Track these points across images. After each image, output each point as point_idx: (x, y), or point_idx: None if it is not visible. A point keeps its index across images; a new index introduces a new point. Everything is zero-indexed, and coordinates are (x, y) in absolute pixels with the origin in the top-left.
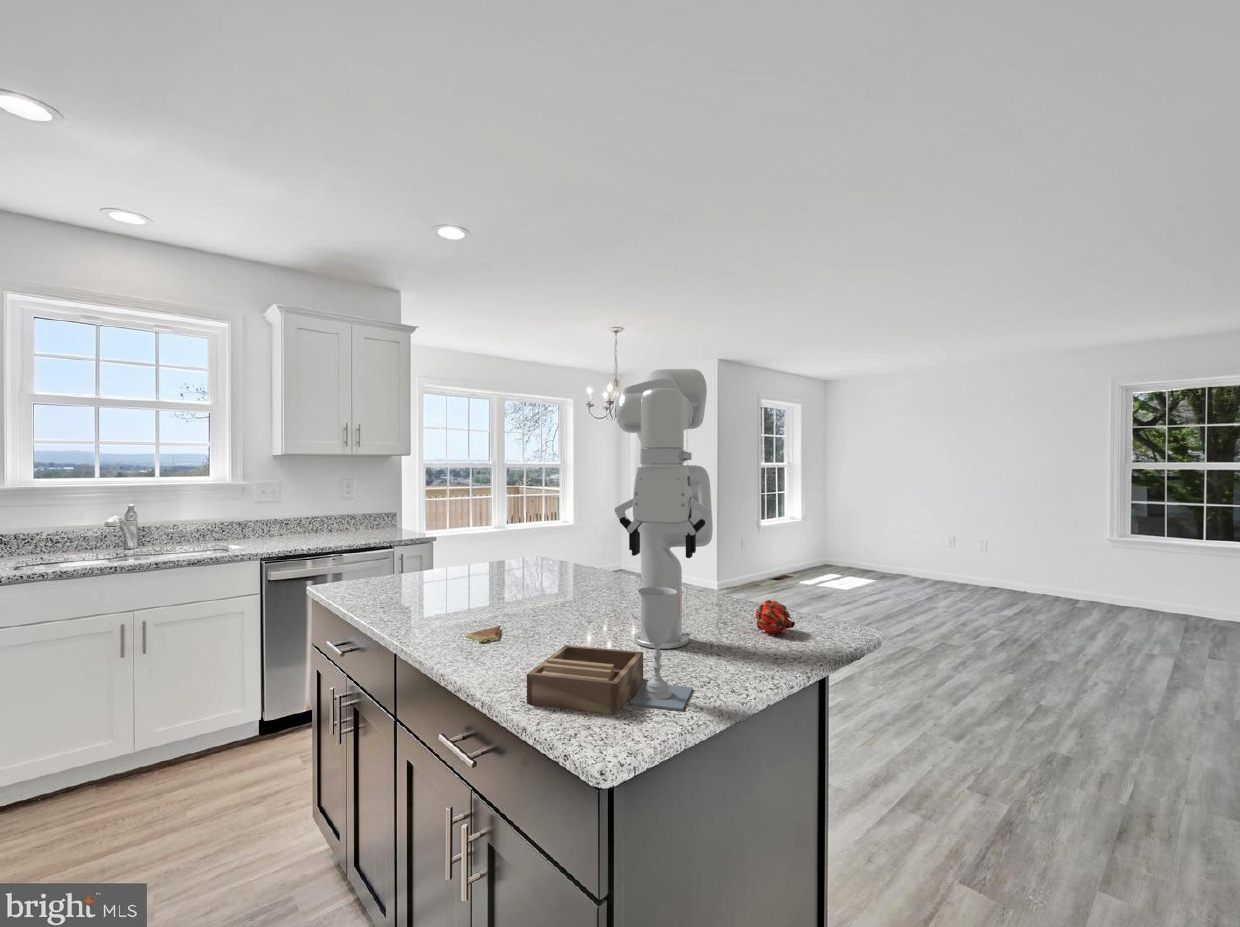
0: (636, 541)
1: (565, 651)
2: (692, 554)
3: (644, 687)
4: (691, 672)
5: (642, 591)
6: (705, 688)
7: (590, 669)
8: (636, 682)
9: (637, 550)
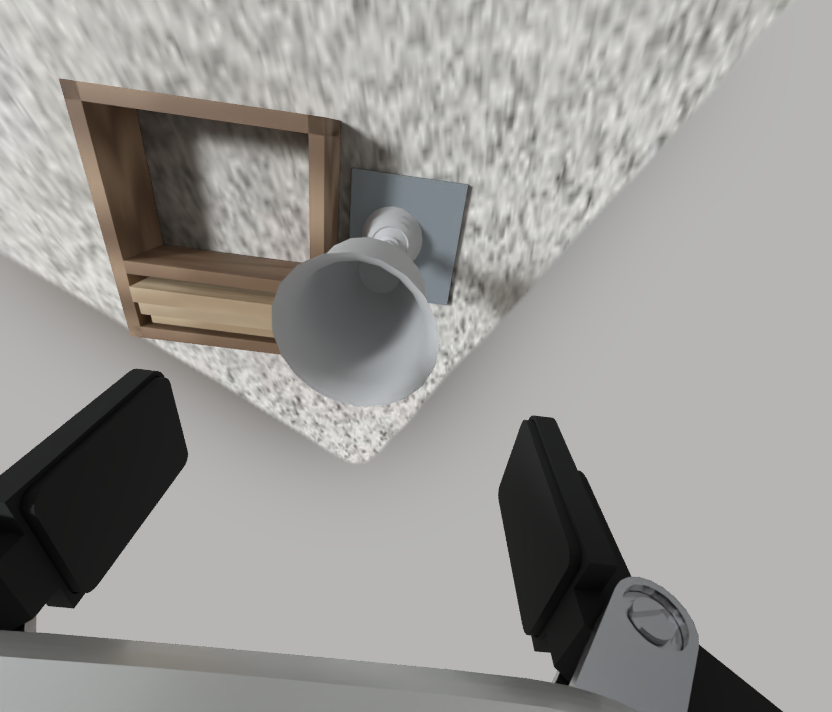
0: (127, 523)
1: (93, 127)
2: (552, 422)
3: (358, 205)
4: (468, 31)
5: (285, 297)
6: (498, 169)
7: (250, 325)
8: (336, 195)
9: (165, 445)
